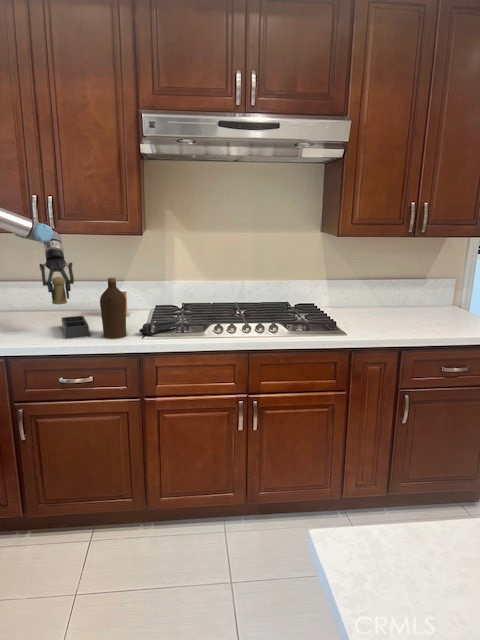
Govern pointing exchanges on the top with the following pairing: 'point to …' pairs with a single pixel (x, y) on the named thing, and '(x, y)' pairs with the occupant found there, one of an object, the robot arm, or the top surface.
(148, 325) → the can opener
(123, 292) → the small box
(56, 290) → the cork
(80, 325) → the dark grey hollow block
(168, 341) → the top surface
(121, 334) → the olive oil
